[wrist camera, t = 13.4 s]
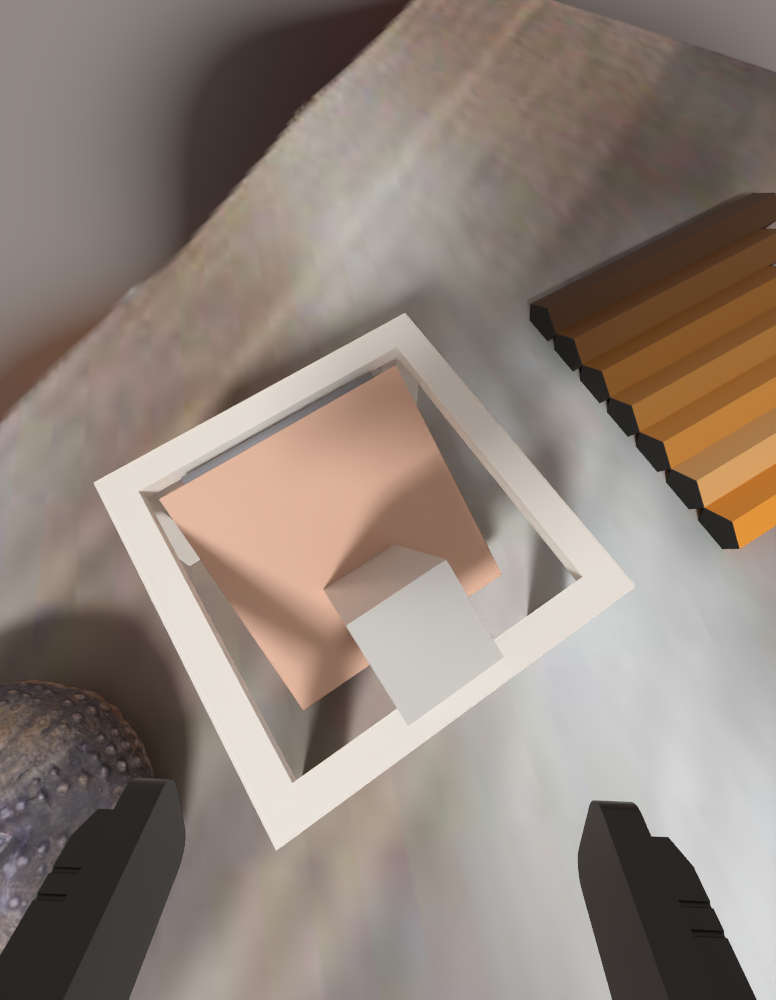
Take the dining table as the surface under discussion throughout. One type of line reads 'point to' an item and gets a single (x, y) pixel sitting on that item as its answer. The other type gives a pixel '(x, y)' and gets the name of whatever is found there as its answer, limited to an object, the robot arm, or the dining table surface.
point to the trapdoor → (325, 521)
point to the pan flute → (688, 359)
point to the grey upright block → (414, 627)
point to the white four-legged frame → (200, 645)
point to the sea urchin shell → (54, 779)
